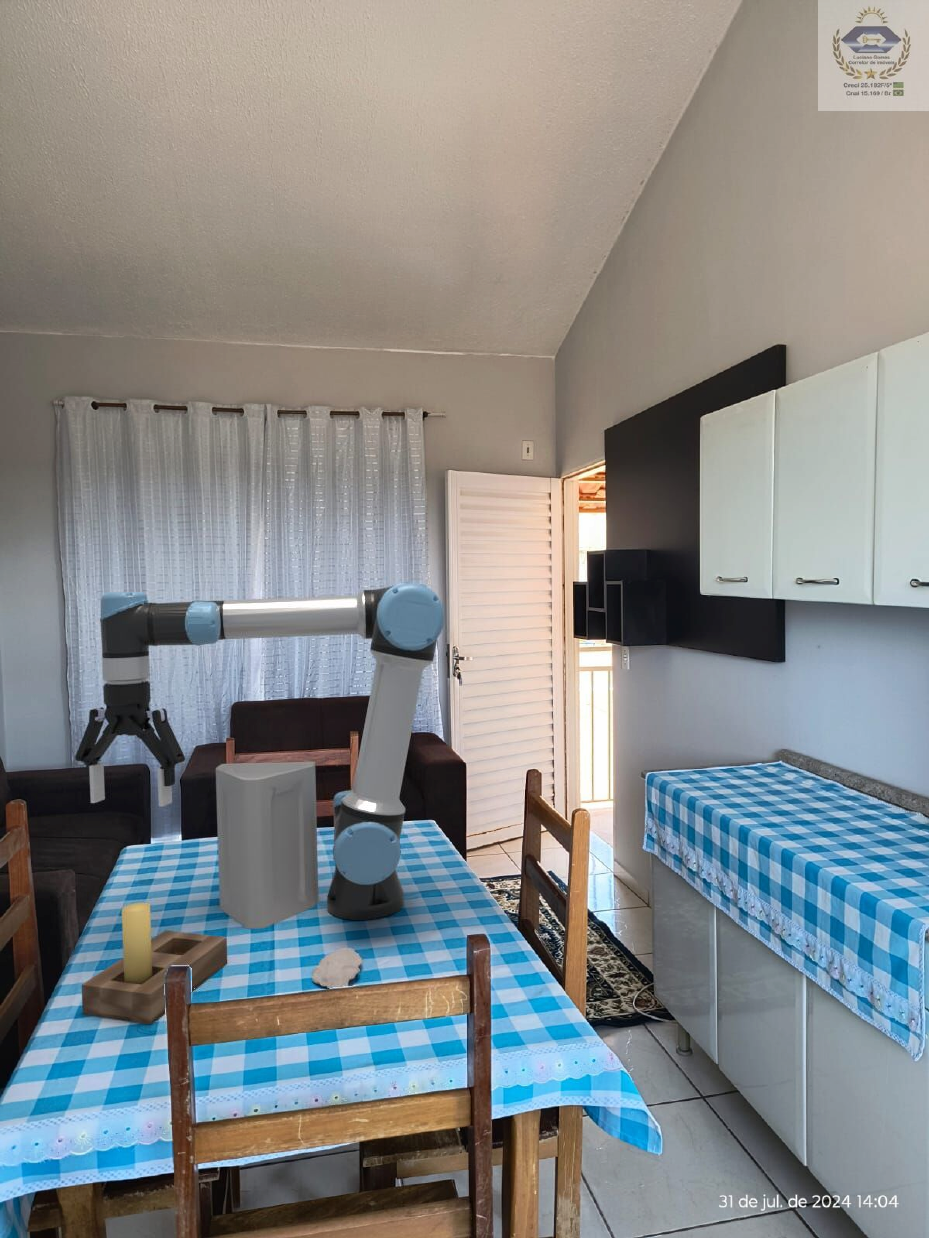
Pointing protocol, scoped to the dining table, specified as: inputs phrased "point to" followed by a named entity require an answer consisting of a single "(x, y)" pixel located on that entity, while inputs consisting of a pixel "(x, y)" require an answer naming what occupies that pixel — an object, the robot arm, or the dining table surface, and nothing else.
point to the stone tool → (337, 968)
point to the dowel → (137, 943)
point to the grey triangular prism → (266, 841)
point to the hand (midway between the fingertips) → (131, 802)
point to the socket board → (153, 977)
